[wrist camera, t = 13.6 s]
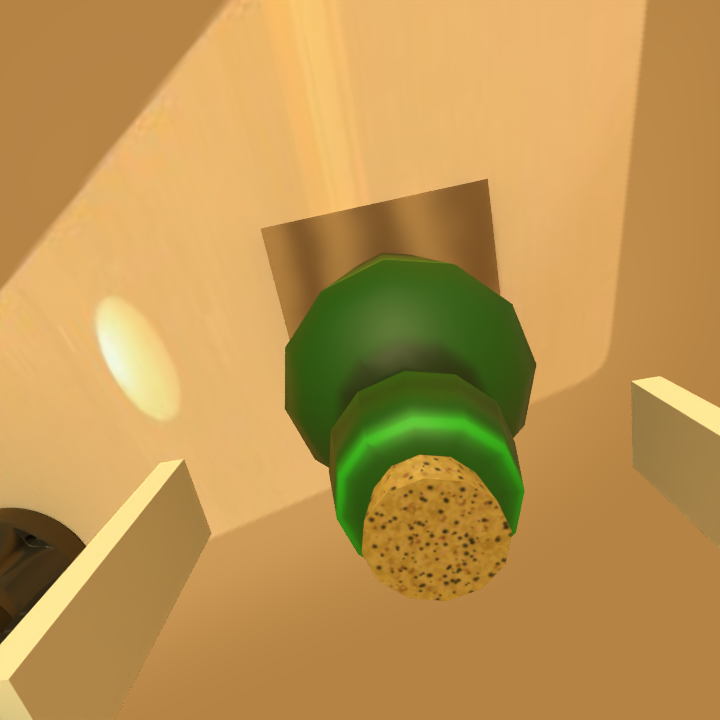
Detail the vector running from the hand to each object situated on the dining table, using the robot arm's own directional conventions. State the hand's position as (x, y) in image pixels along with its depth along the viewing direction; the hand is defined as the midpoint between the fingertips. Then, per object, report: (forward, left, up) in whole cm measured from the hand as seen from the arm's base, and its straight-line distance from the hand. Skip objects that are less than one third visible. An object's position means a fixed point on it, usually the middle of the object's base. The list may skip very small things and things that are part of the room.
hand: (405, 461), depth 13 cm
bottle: (0, 0, -25) cm, 25 cm away
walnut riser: (0, 0, -28) cm, 28 cm away
